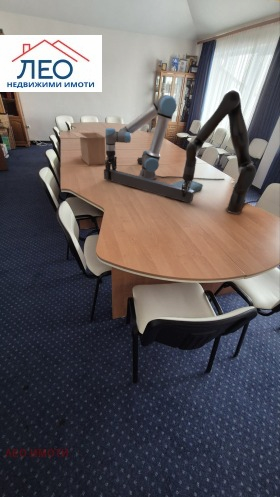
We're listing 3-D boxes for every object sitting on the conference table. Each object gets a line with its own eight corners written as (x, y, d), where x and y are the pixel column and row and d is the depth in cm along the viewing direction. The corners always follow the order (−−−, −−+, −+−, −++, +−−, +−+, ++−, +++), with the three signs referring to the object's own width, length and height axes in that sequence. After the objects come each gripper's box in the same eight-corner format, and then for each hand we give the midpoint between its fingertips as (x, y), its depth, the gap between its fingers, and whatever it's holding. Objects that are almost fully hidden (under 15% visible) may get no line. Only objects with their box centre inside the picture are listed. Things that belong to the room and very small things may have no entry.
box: (116, 165, 229) (116, 136, 213) (83, 168, 214) (80, 137, 198) (102, 154, 259) (101, 128, 243) (71, 156, 244) (68, 129, 228)
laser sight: (156, 166, 234) (157, 157, 228) (136, 164, 237) (136, 154, 231) (158, 164, 241) (159, 154, 236) (138, 162, 244) (138, 152, 238)
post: (104, 178, 191) (103, 169, 187) (107, 177, 195) (107, 168, 190) (190, 202, 162) (192, 192, 157) (192, 200, 165) (194, 190, 161)
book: (186, 184, 196) (187, 178, 193) (201, 190, 188) (203, 184, 185) (170, 190, 183) (171, 184, 180) (185, 196, 174) (187, 190, 171)
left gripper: (107, 152, 169) (108, 182, 183) (120, 148, 182) (120, 177, 196) (99, 151, 172) (101, 180, 185) (113, 147, 185) (113, 175, 198)
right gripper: (190, 176, 147) (186, 200, 157) (197, 171, 157) (192, 193, 167) (180, 174, 150) (176, 197, 160) (187, 169, 160) (183, 191, 170)
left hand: (111, 178), depth 190 cm, fingers closed on post, 5 cm apart
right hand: (184, 195), depth 164 cm, fingers closed on post, 5 cm apart
